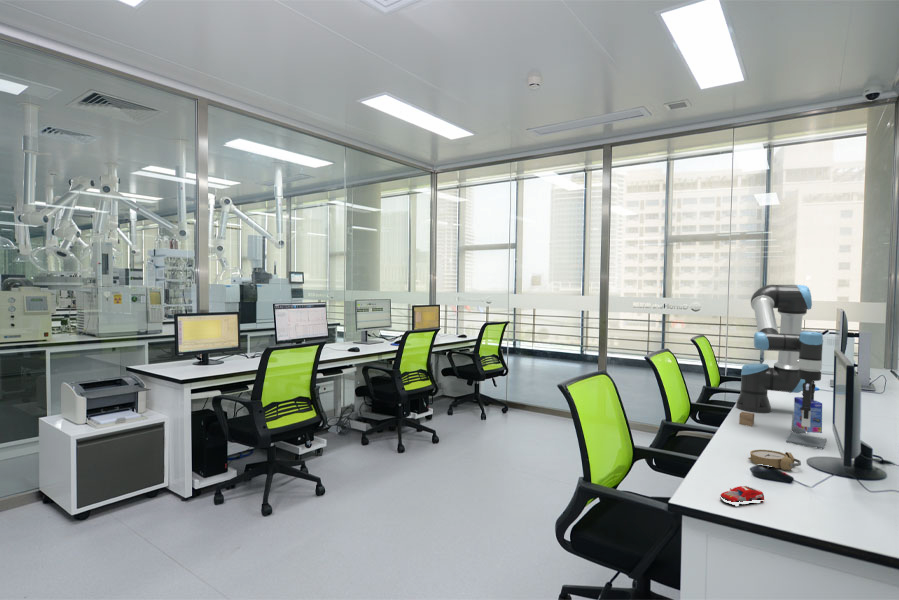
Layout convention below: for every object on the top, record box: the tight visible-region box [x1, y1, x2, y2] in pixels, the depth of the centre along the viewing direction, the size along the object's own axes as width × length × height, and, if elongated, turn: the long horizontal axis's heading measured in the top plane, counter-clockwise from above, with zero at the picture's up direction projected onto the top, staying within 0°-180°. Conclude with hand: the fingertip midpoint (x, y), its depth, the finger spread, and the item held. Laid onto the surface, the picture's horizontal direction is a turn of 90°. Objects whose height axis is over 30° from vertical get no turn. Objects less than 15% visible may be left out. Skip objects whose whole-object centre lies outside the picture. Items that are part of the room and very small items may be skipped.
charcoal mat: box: [785, 432, 827, 450], centre depth 195 cm, size 14×12×1 cm
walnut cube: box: [738, 411, 755, 427], centre depth 218 cm, size 5×5×5 cm
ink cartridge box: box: [793, 392, 823, 434], centre depth 194 cm, size 10×6×14 cm, turn 174°
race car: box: [720, 485, 765, 502], centre depth 139 cm, size 13×5×4 cm, turn 105°
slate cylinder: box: [791, 414, 807, 434], centre depth 208 cm, size 5×5×7 cm
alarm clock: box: [747, 449, 802, 472], centre depth 169 cm, size 11×5×15 cm
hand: (807, 423), depth 195 cm, fingers closed on ink cartridge box, 10 cm apart
